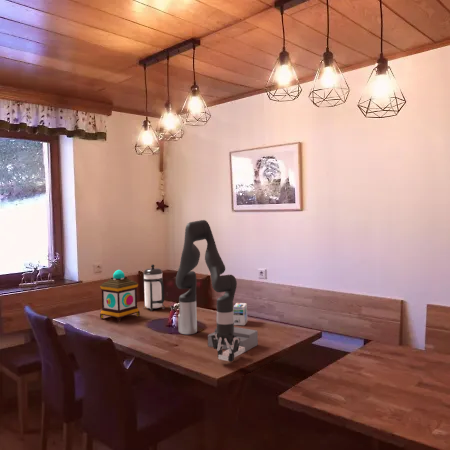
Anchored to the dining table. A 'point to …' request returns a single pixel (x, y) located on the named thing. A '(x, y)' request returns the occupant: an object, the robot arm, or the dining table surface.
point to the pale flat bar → (225, 354)
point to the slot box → (246, 338)
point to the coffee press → (153, 288)
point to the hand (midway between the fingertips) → (225, 360)
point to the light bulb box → (240, 313)
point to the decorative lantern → (119, 296)
